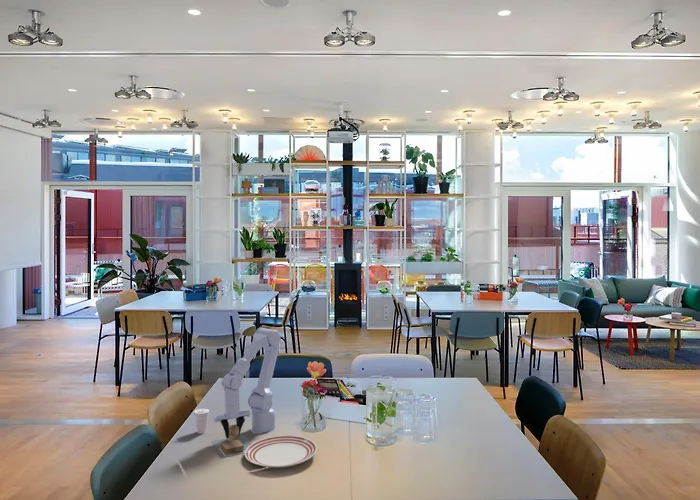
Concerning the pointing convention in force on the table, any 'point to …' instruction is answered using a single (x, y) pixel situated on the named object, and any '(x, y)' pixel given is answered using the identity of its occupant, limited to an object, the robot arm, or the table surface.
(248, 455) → the dinner plate
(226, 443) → the walnut slab
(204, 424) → the smoothie
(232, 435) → the oak block
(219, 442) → the build board
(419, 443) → the table surface
